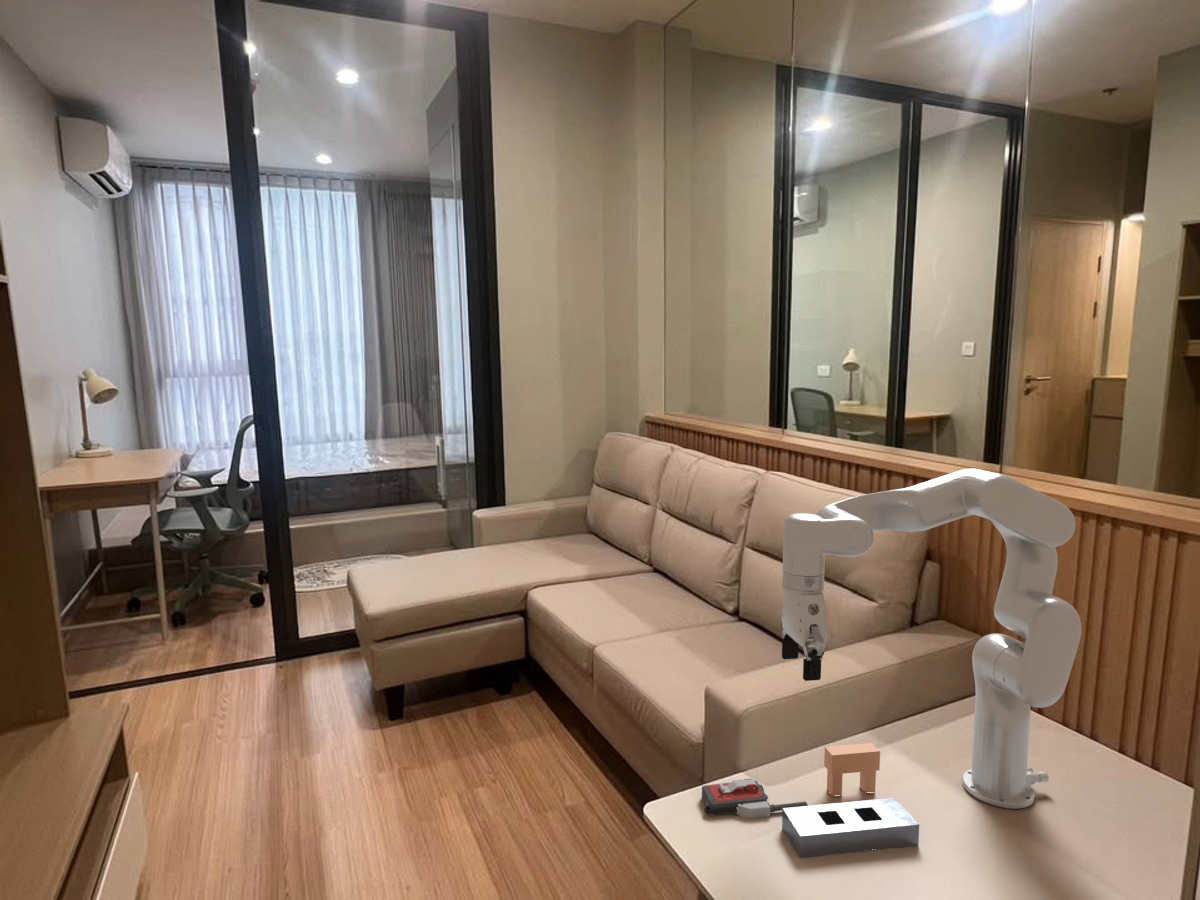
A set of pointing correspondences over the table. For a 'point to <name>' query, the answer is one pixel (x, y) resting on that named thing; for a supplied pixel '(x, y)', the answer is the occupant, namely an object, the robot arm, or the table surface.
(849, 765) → the tan forked block
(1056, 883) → the table surface
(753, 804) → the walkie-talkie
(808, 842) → the metal socket block
